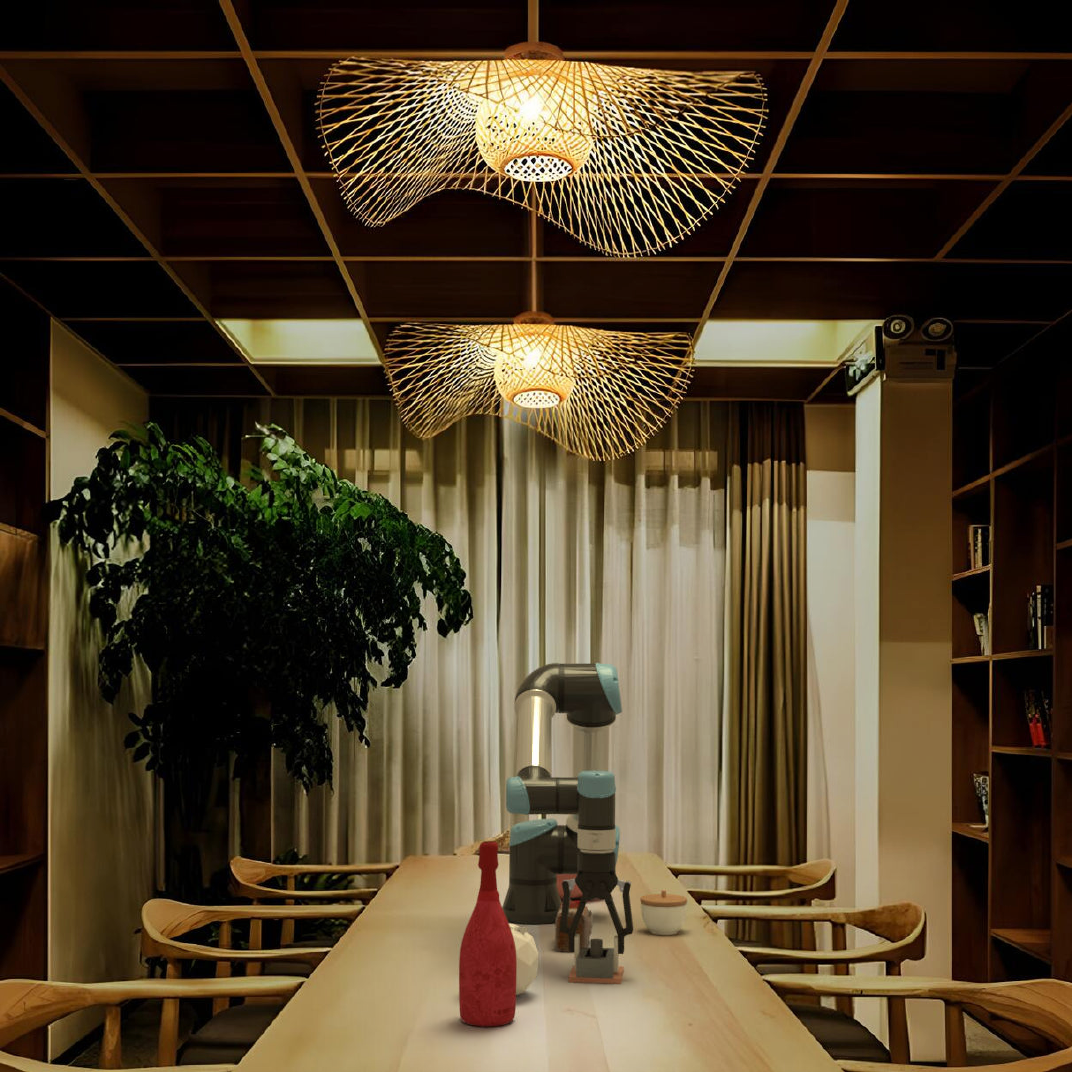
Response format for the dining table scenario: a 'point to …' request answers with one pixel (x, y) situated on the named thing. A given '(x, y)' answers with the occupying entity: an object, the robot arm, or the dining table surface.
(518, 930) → the geodesic sphere
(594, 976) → the grey hollow block
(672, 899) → the lidded jar
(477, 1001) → the wine bottle
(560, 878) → the cell model
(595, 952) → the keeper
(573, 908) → the food item
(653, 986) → the dining table surface
